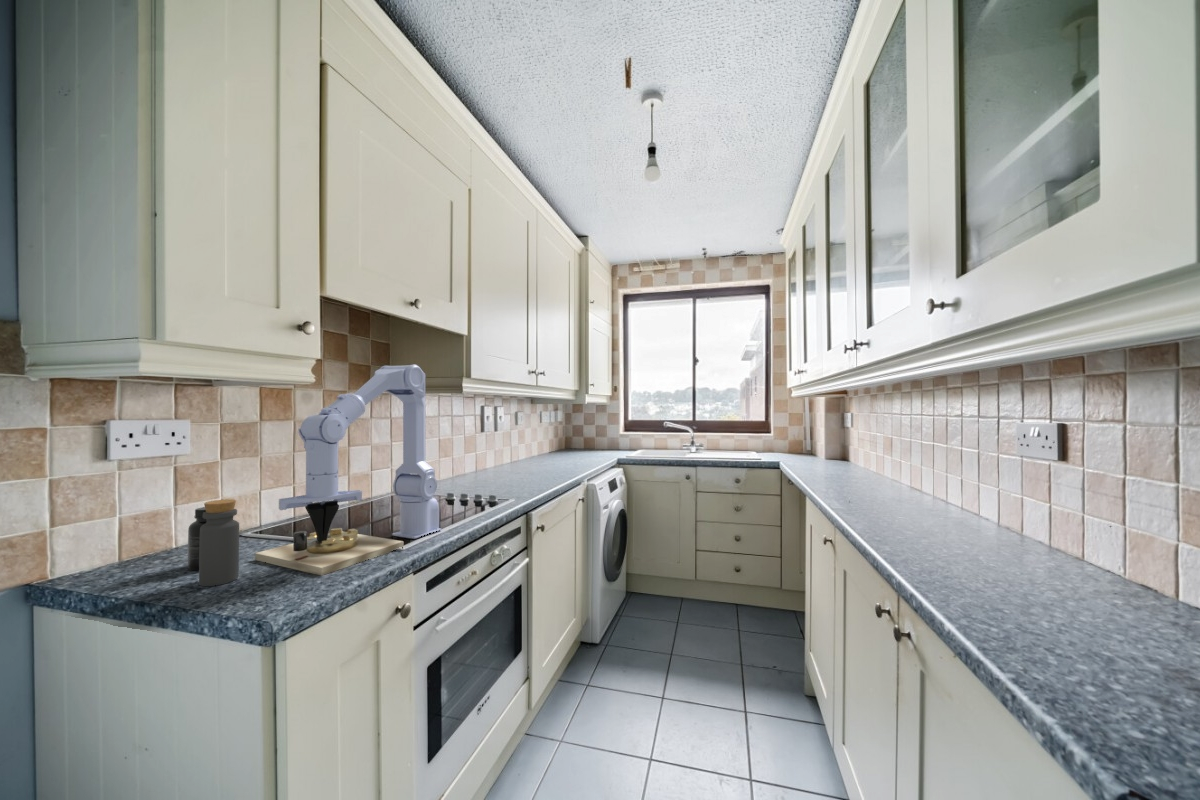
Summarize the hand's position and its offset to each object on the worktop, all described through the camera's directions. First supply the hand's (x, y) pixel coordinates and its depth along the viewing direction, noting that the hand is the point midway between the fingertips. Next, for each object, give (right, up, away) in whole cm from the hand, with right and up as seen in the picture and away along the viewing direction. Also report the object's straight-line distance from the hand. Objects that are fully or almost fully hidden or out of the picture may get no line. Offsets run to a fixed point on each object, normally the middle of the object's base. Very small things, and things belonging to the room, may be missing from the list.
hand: (321, 540), depth 95 cm
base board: (-4, -6, +10) cm, 12 cm away
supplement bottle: (-25, -6, +2) cm, 26 cm away
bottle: (-16, -6, -7) cm, 18 cm away
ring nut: (-4, -4, +7) cm, 9 cm away
